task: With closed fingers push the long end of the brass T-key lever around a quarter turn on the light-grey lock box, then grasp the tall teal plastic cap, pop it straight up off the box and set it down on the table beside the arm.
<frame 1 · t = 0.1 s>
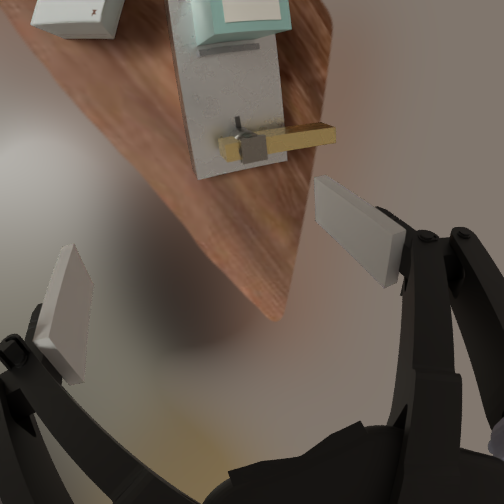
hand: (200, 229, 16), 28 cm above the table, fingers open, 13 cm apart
lockbox: (221, 73, 36), on the table
t key: (277, 139, 35), point 8 cm above the table, hinge at 0.0°
supplement box: (94, 13, 26), on the table
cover: (223, 15, 28), point 5 cm above the table, touching lockbox
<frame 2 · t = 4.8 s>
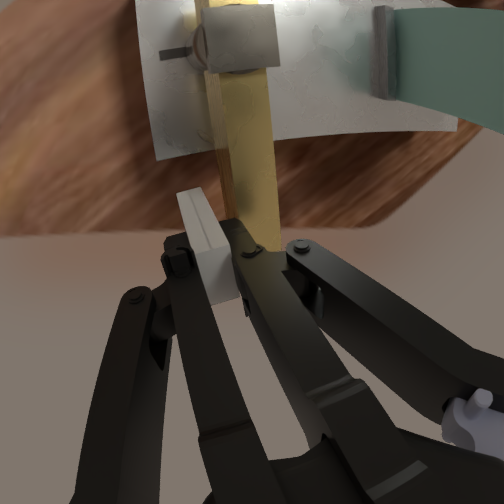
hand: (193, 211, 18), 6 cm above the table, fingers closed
lockbox: (311, 49, 20), on the table
t key: (236, 116, 14), point 8 cm above the table, hinge at 2.0°, touching gripper
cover: (424, 59, 18), point 5 cm above the table, touching lockbox
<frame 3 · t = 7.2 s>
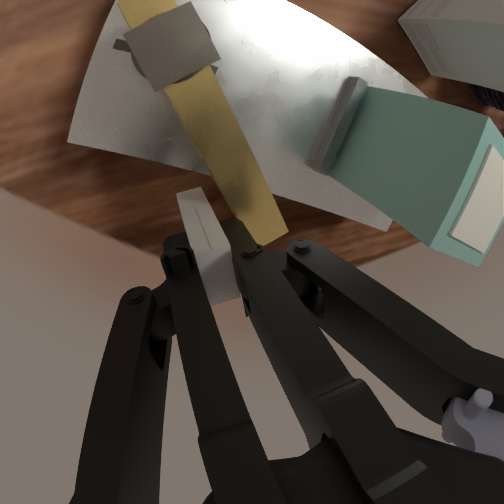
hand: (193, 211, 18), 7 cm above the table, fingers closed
storage jar: (483, 68, 25), on the table
lockbox: (269, 98, 22), on the table
t key: (203, 117, 14), point 8 cm above the table, hinge at 47.0°, touching gripper
supplement box: (429, 31, 21), on the table
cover: (380, 148, 21), point 5 cm above the table, touching lockbox
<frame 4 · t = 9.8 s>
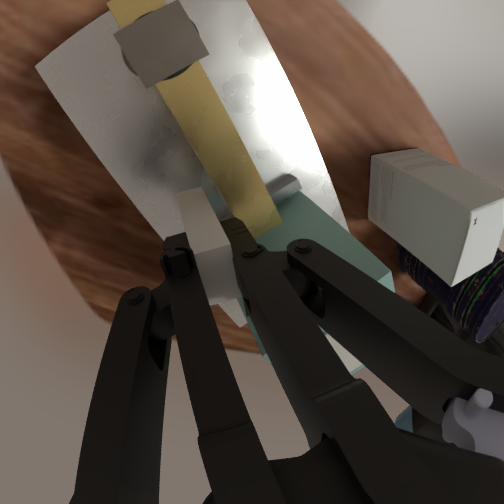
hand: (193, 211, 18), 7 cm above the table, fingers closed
storage jar: (421, 239, 37), on the table
lockbox: (212, 151, 23), on the table
t key: (195, 112, 14), point 8 cm above the table, hinge at 88.5°
supplement box: (393, 181, 31), on the table
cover: (276, 251, 24), point 5 cm above the table, touching lockbox
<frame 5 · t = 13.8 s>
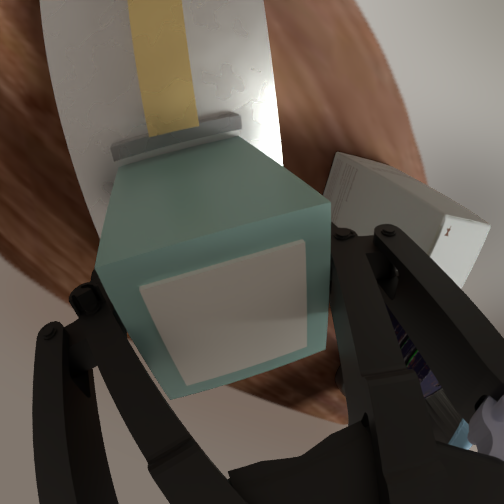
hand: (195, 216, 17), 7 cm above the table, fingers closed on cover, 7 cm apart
storage jar: (369, 274, 35), on the table
lockbox: (161, 81, 18), on the table
supplement box: (353, 193, 28), on the table
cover: (191, 205, 18), point 5 cm above the table, touching gripper, lockbox
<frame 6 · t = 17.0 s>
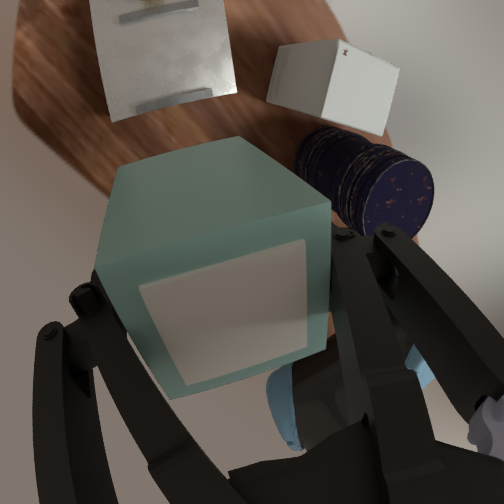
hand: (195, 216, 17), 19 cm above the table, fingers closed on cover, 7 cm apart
storage jar: (325, 161, 40), on the table
supplement box: (298, 81, 33), on the table
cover: (191, 205, 18), point 17 cm above the table, touching gripper
when the fingers open (4 cm above the table, at t = 20.0 s): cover drops 2 cm, on the table.
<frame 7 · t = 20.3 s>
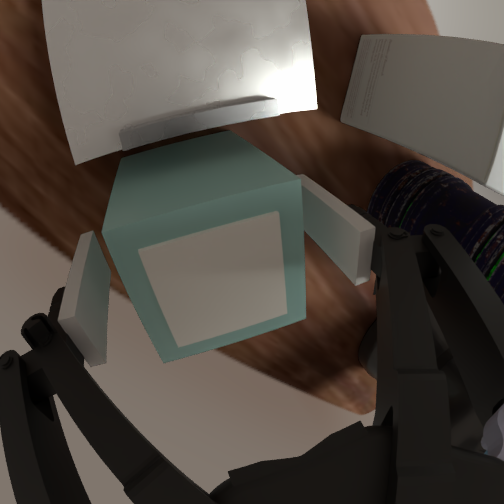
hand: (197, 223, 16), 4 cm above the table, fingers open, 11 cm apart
storage jar: (403, 207, 27), on the table
supplement box: (383, 91, 20), on the table
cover: (186, 193, 20), on the table
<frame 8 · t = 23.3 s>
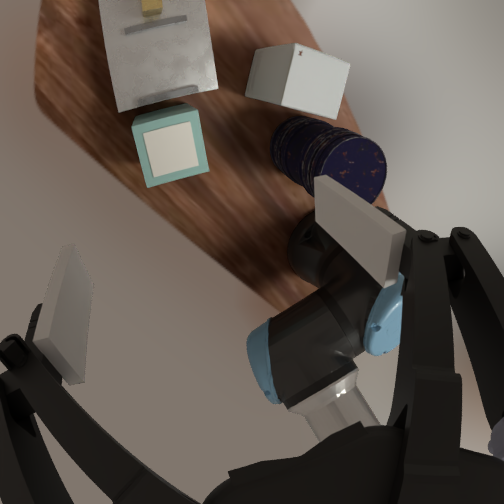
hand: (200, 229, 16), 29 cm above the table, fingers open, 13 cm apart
storage jar: (298, 145, 46), on the table
lockbox: (151, 11, 29), on the table
supplement box: (272, 78, 39), on the table
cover: (166, 133, 39), on the table
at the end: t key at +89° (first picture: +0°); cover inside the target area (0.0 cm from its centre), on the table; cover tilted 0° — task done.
